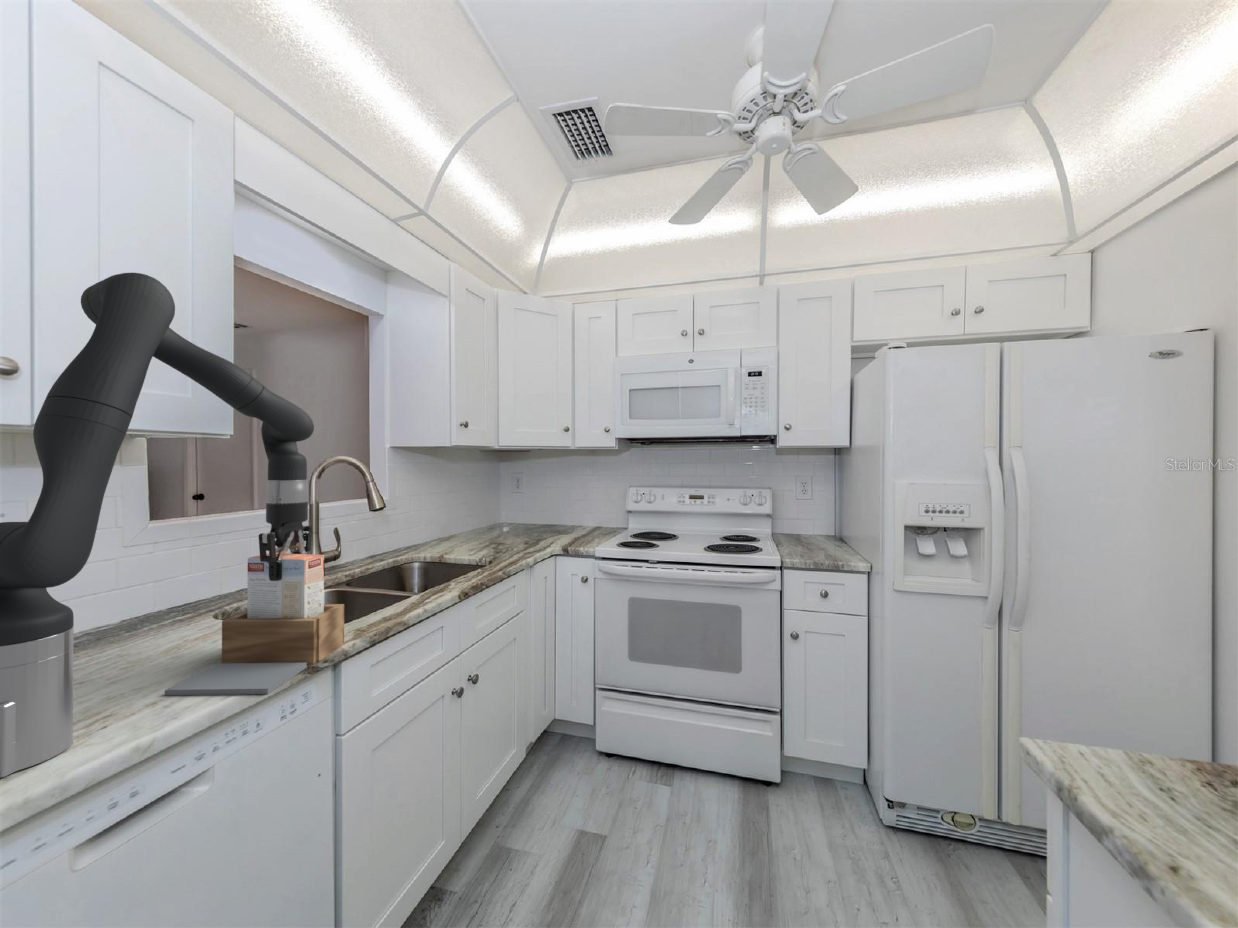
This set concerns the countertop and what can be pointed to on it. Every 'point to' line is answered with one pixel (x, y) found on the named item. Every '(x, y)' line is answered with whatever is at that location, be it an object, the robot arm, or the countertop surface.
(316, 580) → the cracker box
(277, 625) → the crate
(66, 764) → the countertop surface
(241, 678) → the pad
